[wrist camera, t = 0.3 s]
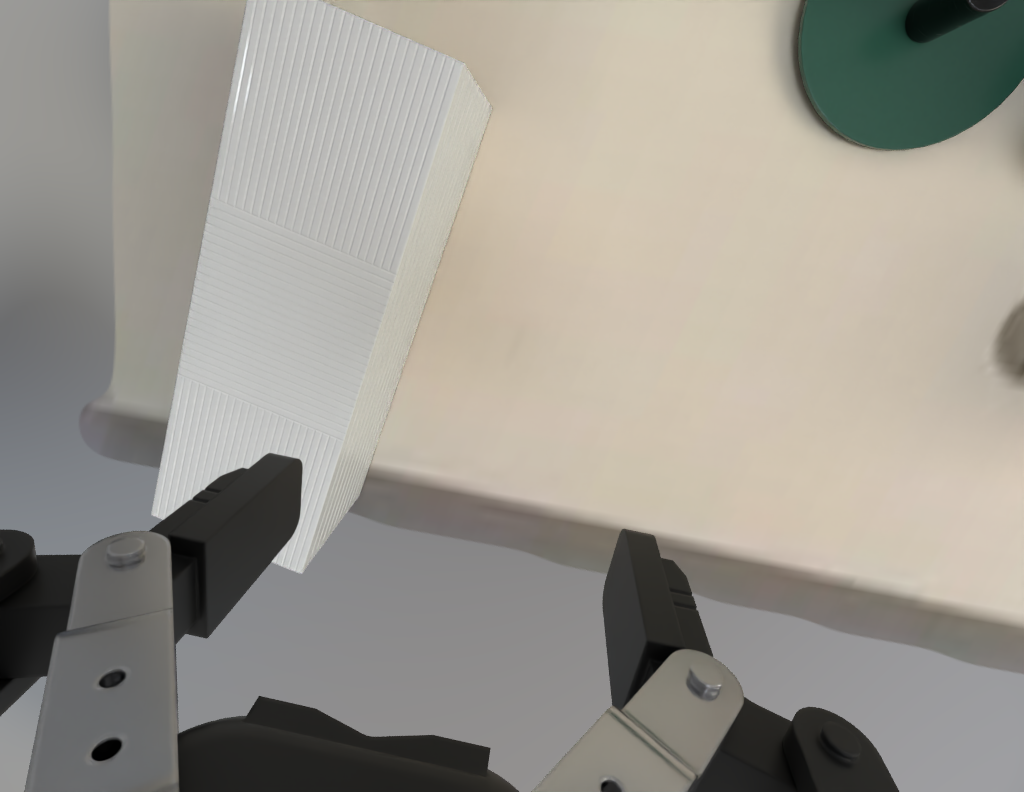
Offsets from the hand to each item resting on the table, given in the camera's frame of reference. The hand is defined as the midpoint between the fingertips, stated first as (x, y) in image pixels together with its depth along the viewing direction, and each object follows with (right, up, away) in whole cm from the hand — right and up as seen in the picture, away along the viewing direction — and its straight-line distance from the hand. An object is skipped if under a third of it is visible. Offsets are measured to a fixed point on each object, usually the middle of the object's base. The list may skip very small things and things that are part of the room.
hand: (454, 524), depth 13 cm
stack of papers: (-11, +11, +27) cm, 31 cm away
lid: (+26, +25, +18) cm, 40 cm away
